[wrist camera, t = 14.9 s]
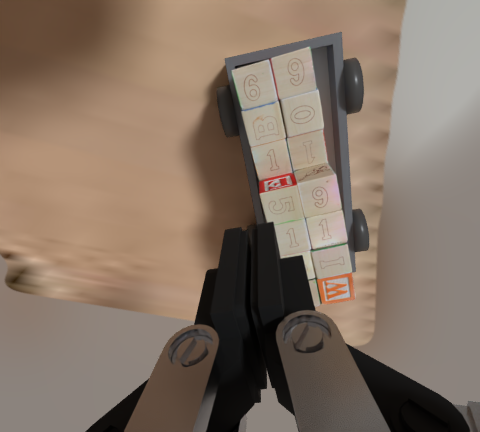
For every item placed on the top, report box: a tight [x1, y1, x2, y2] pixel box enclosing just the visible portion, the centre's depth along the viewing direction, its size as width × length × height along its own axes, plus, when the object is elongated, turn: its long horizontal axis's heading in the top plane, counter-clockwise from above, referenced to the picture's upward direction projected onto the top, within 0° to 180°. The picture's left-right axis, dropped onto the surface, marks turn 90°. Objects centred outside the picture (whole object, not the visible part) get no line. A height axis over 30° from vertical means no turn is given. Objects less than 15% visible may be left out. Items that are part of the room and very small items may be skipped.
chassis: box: [217, 32, 369, 272], centre depth 35 cm, size 26×13×5 cm, turn 11°
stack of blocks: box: [231, 47, 356, 306], centre depth 30 cm, size 21×6×12 cm, turn 15°
